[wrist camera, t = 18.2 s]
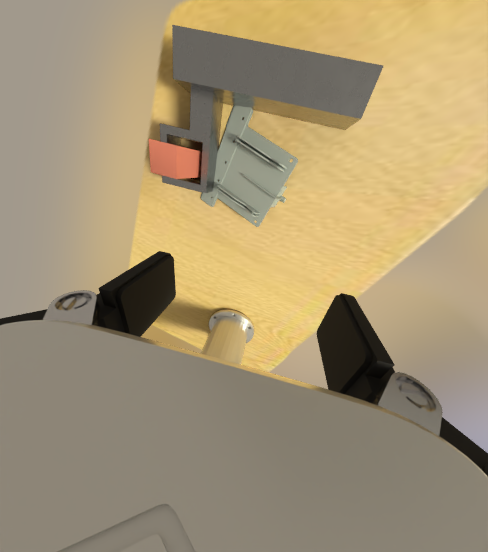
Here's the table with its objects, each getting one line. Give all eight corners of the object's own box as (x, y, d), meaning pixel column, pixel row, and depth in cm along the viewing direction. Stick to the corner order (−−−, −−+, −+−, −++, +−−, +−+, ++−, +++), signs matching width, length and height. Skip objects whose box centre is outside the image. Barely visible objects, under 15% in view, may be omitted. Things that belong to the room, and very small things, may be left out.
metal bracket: (312, 143, 22) (251, 241, 29) (316, 154, 26) (263, 236, 34) (224, 88, 24) (189, 194, 32) (242, 108, 28) (208, 195, 36)
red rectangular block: (205, 176, 31) (176, 179, 22) (187, 171, 31) (150, 172, 23) (207, 153, 29) (176, 145, 21) (187, 148, 29) (148, 138, 21)
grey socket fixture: (311, 215, 31) (316, 223, 26) (175, 181, 32) (154, 182, 27) (360, 89, 22) (383, 65, 17) (173, 51, 24) (143, 19, 19)
